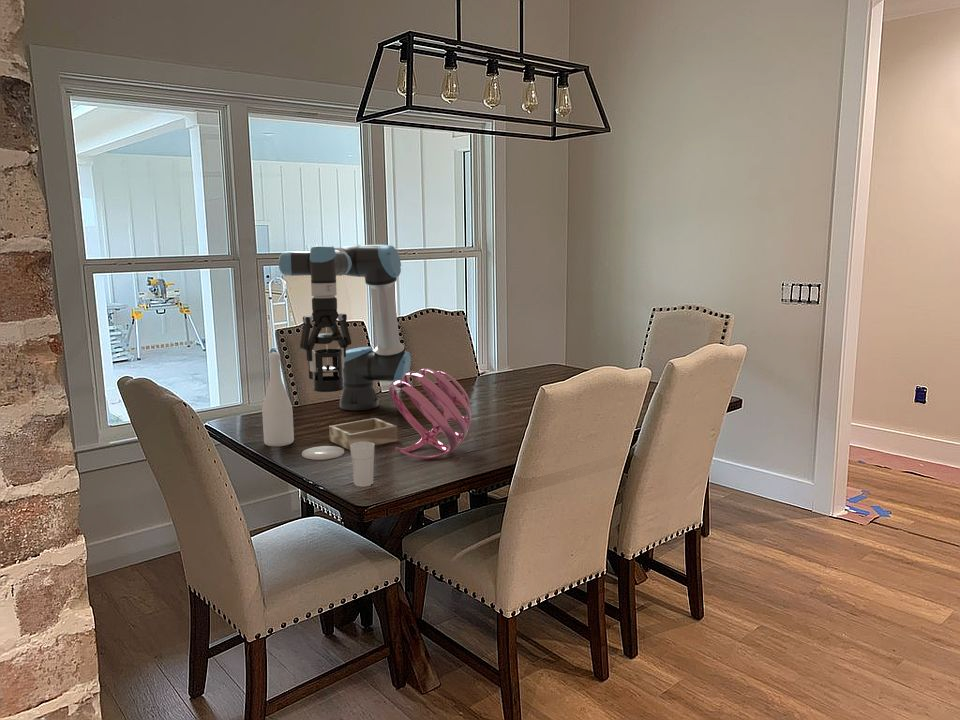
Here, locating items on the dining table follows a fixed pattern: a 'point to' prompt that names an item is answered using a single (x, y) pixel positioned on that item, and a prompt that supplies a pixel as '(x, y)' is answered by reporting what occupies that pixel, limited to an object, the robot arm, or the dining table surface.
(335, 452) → the trivet
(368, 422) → the holder
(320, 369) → the french press
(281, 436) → the wine bottle
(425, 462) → the dining table surface
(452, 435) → the spiral basket
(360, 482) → the cup
